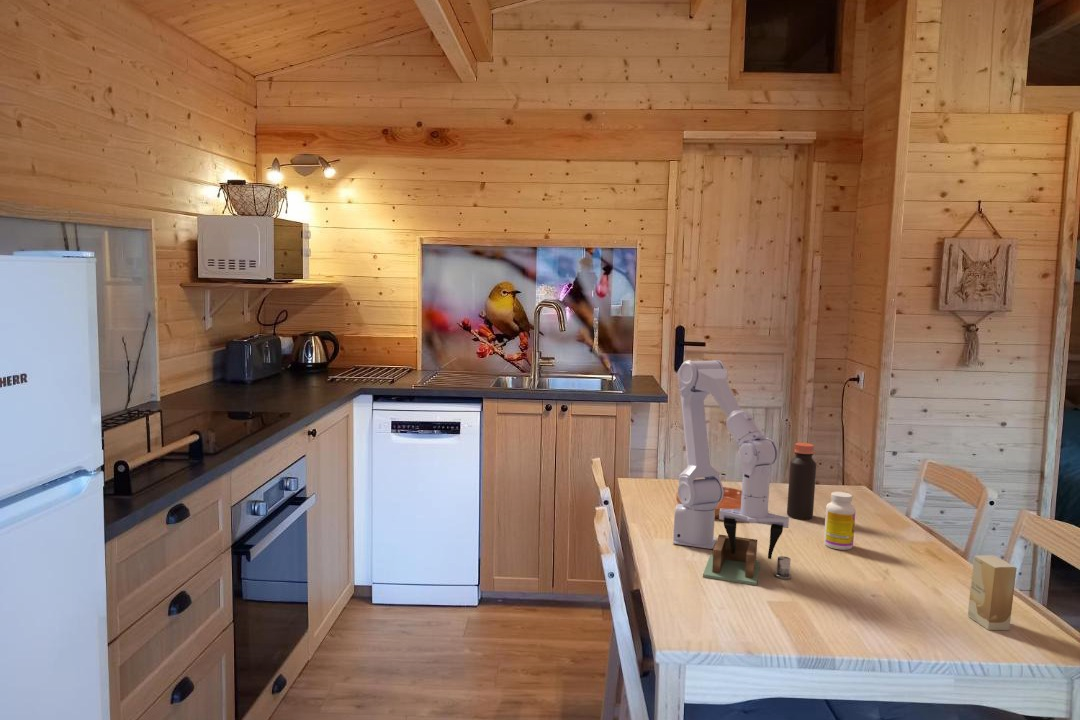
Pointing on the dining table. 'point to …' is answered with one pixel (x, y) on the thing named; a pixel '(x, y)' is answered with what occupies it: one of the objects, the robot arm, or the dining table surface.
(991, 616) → the skincare box
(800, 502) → the vinegar
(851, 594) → the dining table surface
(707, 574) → the green rubber mat
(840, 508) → the supplement bottle
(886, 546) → the dining table surface
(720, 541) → the walnut C-link
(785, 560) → the metal door knob
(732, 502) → the saucer
